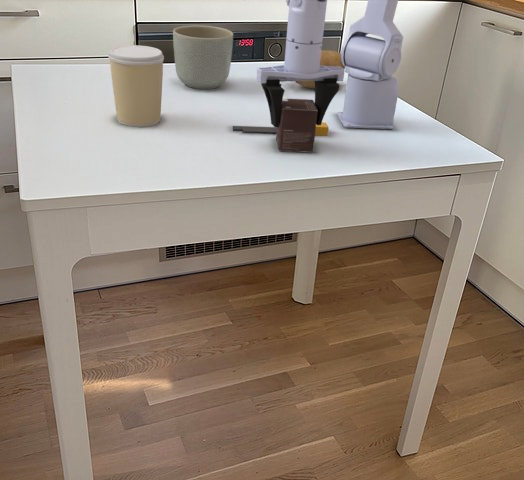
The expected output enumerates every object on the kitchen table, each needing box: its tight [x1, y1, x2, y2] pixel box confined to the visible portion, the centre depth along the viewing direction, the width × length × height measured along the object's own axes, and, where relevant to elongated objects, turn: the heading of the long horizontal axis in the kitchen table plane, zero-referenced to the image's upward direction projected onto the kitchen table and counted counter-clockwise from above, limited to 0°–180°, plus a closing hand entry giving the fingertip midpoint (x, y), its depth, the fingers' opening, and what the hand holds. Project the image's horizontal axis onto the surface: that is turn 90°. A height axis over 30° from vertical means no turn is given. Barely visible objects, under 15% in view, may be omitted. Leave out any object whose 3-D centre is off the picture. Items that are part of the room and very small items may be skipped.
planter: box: [172, 24, 234, 90], centre depth 135 cm, size 12×12×11 cm
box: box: [275, 97, 318, 153], centre depth 109 cm, size 6×6×7 cm
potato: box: [294, 49, 346, 90], centre depth 140 cm, size 10×14×8 cm
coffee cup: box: [108, 44, 165, 128], centre depth 113 cm, size 9×9×12 cm
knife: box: [232, 121, 330, 137], centre depth 116 cm, size 17×3×2 cm, turn 96°
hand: (296, 124), depth 108 cm, fingers open, 7 cm apart
